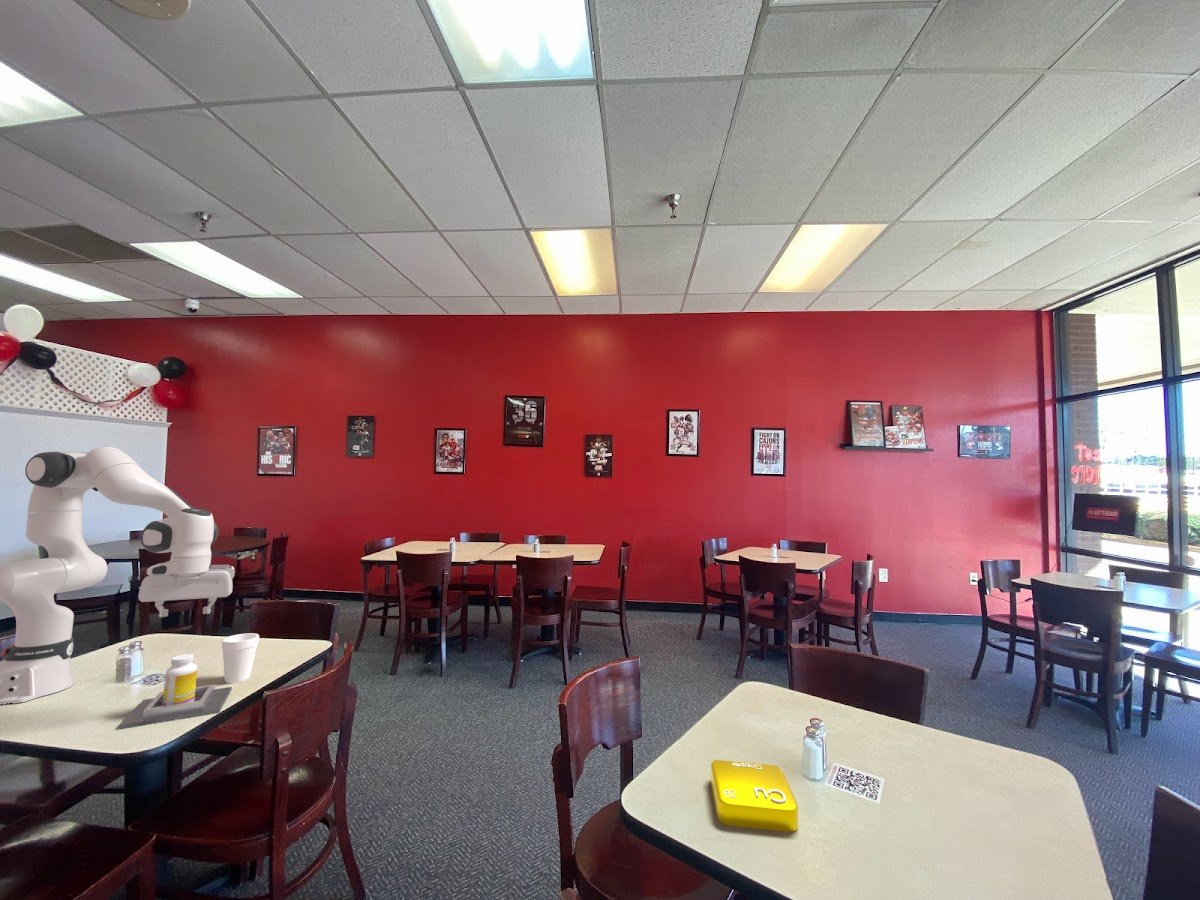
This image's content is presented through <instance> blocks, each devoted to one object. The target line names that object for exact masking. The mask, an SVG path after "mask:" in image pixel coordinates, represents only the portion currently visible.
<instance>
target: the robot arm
mask: <svg viewBox="0 0 1200 900" xmlns="http://www.w3.org/2000/svg"><path fill="white" fill-rule="evenodd" d="M24 471H25V477H26V479H27V480H28V481H29V482H30V483H31V484H32V485H33V488H32V491H31V493H30V497H29V500H28V506H27V515H26V516H27V519H26V530H25V536H26V538H27V540H28V541H29V542H30V543H32V544H35V545H38V546H40V547H43V549H45V550H46V552H47V554H48V557H46V558H37V559H27V560H20V561H16V562H11V563H8V564H3V565H0V601H1V602H3V603H5V604H6V605H7V606H8V607H9V608H10V609H11V610H12V612H13V614H14V617H15V621H16V623H15V626H16V627H15V640H14V643H12V644H11V645H10V646H8V647H6V648H5V649H4V650H3V651H1V652H0V653H1V654H0V656H3V660H1V661H0V705H1V704H2V705H10V704H9V703H13V704H20V702H21V703H24V702H28V701H30V700H34V699H36V698H40V697H44V696H48V695H51V694H54V693H57V692H60V691H63V690H66V689H68V688H70V687H72V686H73V685H74V684H75V682H74V681H75V680H74V678H73V673H72V668H71V667H72V666H71V656H72V653H73V651H74V636H73V635H72V634H73V626H74V618H75V617H74V616H75V615H74V611H72V609H70V608H68V607H67V606H63V605H59V604H57V603H56V601H55V599H54V597H55V594H60V593H67V592H73V591H79V590H82V589H85V588H88V587H89V588H90V587H92V586H95V585H97V584H100V583H101V582H102V581H103V580H104V579H105V578H106V576H107V574H108V564H107V561H106V560H105V559H104V558H103V557H102V556H100V555H99V554H97V553H95V552H93V551H92V550H91V549H90V548H89V546H88V545H87V543H86V541H85V539H84V535H83V499H84V495H85V493H86V492H87V491H89V490H91V489H92V490H93V491H95V492H99V493H100V494H101V495H102V496H103V497H105V498H106V499H107V500H109V501H111V502H113V503H116V504H119V505H121V504H122V505H129V506H137V507H145V508H149V509H153V510H157V511H159V512H161V513H163V514H164V515H166V516H167V517H166V518H162V519H158V520H154V521H151V522H149V523H148V524H147V525H146V526H145V527H144V528H143V529H142V532H141V536H140V540H141V541H140V542H141V544H142V547H143V548H144V550H146V551H148V552H150V553H152V554H153V553H154V554H164V553H165V554H166V553H171V555H170V560H168V561H167V560H166V561H163V562H160V563H157V564H154V565H151V566H149V567H148V568H147V569H146V575H147V576H146V577H144V578H143V580H142V581H141V585H140V587H139V590H138V591H139V592H138V597H137V598H138V600H139V601H140V602H141V603H145V602H146V603H148V602H149V603H151V602H154V606H155V608H156V609H157V610H158V612H159V613H158V614H159V615H158V617H159V618H166V617H168V616H169V609H168V608H167V609H165V607H164V606H163V604H164V603H165V602H166V601H167V602H169V601H179V600H180V601H182V600H195V599H196V600H197V599H198V600H199V599H208V602H209V604H208V605H207V606H204V607H202V615H206V614H207V615H209V614H210V613H211V608H212V607H213V605H214V603H215V602H216V601H217V599H218V598H227V597H229V596H230V595H231V594H232V592H233V588H234V587H233V579H234V578H235V573H236V570H235V568H234V567H233V566H232V565H230V564H225V563H224V564H211V562H212V550H211V546H212V545H213V544H214V543H215V542H216V540H217V538H218V536H219V527H218V525H217V523H216V522H215V521H214V516H213V513H212V512H211V511H209V510H207V509H203V508H195V507H194V506H192V505H191V504H190V503H189V502H188V501H186V500H185V499H184V498H183V497H182V496H181V495H179V494H178V493H177V492H176V491H175V490H173V489H172V488H170V487H168V486H167V485H165V484H163V483H161V482H160V481H158V480H157V479H155V478H154V477H152V476H151V475H149V474H148V473H147V472H146V471H145V470H144V469H143V468H142V467H141V466H140V465H139V463H138V462H136V461H135V460H134V459H133V458H132V457H131V456H129V455H128V454H127V453H126V452H124V451H123V450H121V449H120V448H117V447H114V446H100V447H97V448H94V449H91V450H90V451H89V452H84V451H80V452H75V451H74V452H68V451H67V452H65V451H64V452H60V451H46V452H40V453H36V454H35V455H33V456H32V457H31V458H30V459H29V460H28V461H27V463H26V465H25V469H24ZM7 703H8V704H7Z"/></svg>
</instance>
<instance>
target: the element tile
mask: <svg viewBox="0 0 1200 900" xmlns="http://www.w3.org/2000/svg"><path fill="white" fill-rule="evenodd" d="M710 784H711V790H712V796H713V801H714V807H715V812H716V818H717V819H718V821H719V822H720V823H722V824H724V825H726V826H730V827H739V828H750V829H758V830H769V831H776V832H785V833H793V832H796V831H799V830H798V829H799V806H798V804H797V801H796V799H795V797H794V794H793V791H792V789H791V787H790V785H789V782H788V781H787V779H786V776H785V773H784V771H783V770H782V769H781V768H780V767H779V766H777V765H774V764H767V763H766V764H765V763H758V762H757V763H756V762H747V761H746V762H744V761H734V760H732V761H731V760H724V759H723V760H722V759H717V760H716V759H714V760H713V761H712V762H711V764H710Z"/></svg>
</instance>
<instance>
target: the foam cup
mask: <svg viewBox="0 0 1200 900" xmlns="http://www.w3.org/2000/svg"><path fill="white" fill-rule="evenodd" d="M259 643H260V635H259V634H258V633H253V632H252V633H251V632H250V633H249V632H248V633H239V634H232V635H230V636H229V635H228V636H227V637H224V638H223V639H222V642H221V649H222V659H223V660H222V661H223V676H224V677H223V678H224V683H225V682H228V683H231V684H234V683H233V682H239V683H241V682H240V681H243V682H245V681H244V680H246V679H248V678H249V677H250V678H251V674H252V670H253V666H254V661H255V657H256V653H257V648H258V644H259ZM250 678H249V679H250ZM249 679H248V680H249ZM246 681H247V680H246ZM228 683H227V684H228Z"/></svg>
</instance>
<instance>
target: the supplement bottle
mask: <svg viewBox="0 0 1200 900" xmlns="http://www.w3.org/2000/svg"><path fill="white" fill-rule="evenodd" d="M194 658H195V656H194V654H192V653H190V654H189V653H187V654H186V653H185V654H180V655H177V656H173V657H172V658H171V662H170V664H171V667H169V668H167V670H166V671H165V676H164V677H165V678H164V687H163V688H164V689H163V692H164V697H163V706H166V705H173V704H179V703H186V702H193V701H194V699H195V688H196V687H197V686H196V685H197V674H198V665H197V664H196V663H193V661H194Z"/></svg>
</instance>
